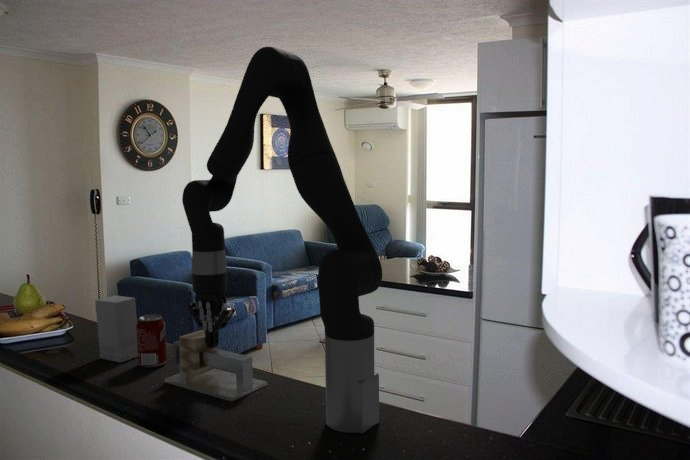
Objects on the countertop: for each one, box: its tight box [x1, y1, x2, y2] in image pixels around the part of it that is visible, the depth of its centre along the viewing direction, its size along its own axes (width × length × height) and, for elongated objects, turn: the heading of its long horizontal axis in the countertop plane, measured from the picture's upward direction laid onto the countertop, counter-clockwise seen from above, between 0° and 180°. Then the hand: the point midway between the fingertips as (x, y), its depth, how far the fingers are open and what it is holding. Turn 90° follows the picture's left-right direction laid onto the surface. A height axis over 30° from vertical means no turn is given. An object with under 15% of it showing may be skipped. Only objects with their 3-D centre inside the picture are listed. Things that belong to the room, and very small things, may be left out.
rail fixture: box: [164, 340, 268, 402], centre depth 134 cm, size 21×11×8 cm, turn 56°
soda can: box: [136, 314, 168, 369], centre depth 147 cm, size 7×7×12 cm
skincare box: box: [94, 294, 138, 364], centre depth 152 cm, size 8×7×16 cm
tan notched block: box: [178, 329, 219, 376], centre depth 136 cm, size 5×7×8 cm
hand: (212, 346), depth 133 cm, fingers closed
